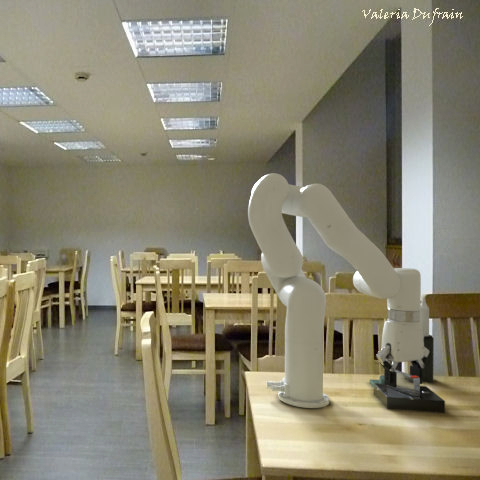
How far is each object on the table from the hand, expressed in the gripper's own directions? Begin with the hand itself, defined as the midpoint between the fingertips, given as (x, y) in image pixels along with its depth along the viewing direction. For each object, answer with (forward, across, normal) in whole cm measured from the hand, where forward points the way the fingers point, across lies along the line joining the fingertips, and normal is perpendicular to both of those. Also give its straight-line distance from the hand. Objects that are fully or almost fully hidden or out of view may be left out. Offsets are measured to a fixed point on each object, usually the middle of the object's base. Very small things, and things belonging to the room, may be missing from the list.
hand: (403, 383), depth 113 cm
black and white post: (+5, -22, -13) cm, 26 cm away
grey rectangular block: (+2, 0, 0) cm, 2 cm away
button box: (+5, -6, -9) cm, 12 cm away
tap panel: (+5, -1, 0) cm, 5 cm away
